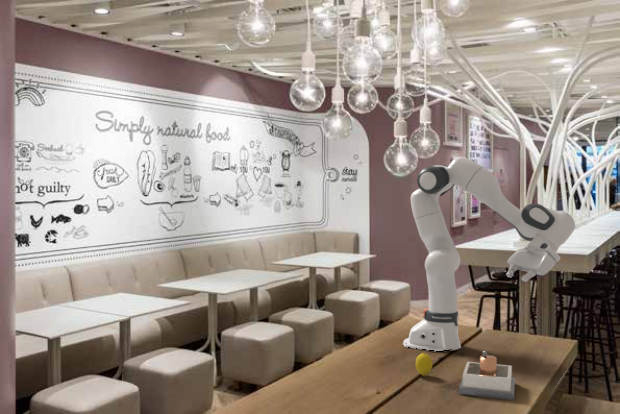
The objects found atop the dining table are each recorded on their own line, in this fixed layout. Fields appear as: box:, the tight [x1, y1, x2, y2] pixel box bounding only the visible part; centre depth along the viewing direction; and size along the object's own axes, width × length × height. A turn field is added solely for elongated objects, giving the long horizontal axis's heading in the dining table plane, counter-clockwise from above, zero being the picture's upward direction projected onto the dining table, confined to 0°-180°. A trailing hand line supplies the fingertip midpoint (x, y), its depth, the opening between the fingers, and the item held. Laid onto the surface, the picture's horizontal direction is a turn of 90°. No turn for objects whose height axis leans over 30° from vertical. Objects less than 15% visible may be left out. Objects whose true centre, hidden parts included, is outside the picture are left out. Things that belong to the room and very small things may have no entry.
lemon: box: [415, 352, 433, 377], centre depth 206 cm, size 6×6×8 cm
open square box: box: [458, 361, 516, 401], centre depth 193 cm, size 16×16×6 cm
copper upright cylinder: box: [479, 350, 498, 376], centre depth 193 cm, size 5×5×10 cm
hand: (515, 278), depth 215 cm, fingers open, 8 cm apart
